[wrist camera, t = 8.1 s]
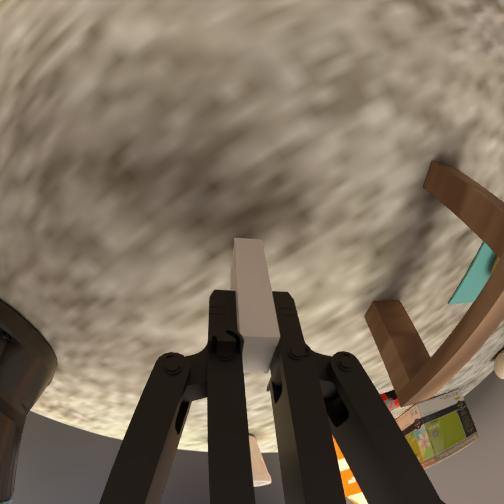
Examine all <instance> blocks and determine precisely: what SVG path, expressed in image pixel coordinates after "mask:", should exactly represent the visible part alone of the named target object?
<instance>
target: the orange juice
mask: <svg viewBox="0 0 504 504" xmlns="http://www.w3.org/2000/svg"><path fill="white" fill-rule="evenodd" d="M333 439H334V437H333ZM334 444H335V448H336V453H337V457H338V463H339V468H340V472H341V476H342V481H343V486H344V491H345V496H346V497H347V498H349V499H350V500H351V501H353V502H354V503H356V504H368V503H367V501H366V499H365V497H364V495H363V493H362V491H361V489H360V488H359V486H358V484H357V482H356V480H355V478H354V476H353V474H352V472H351V470H350V468H349V466H348V464H347V462H346V460H345V458H344V457H343V455H342V453H341V451H340V449H339V447H338V445H337V443H336V441H335V439H334Z"/></svg>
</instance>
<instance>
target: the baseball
mask: <svg viewBox="0 0 504 504" xmlns="http://www.w3.org/2000/svg"><path fill="white" fill-rule="evenodd" d="M494 370H495V373H496V375H497V376H498V377H499V378H501V379H504V349H503V350H502V351H501V352H500V353H499V354H498V355H497V357H496V359H495V362H494Z"/></svg>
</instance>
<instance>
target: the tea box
mask: <svg viewBox="0 0 504 504" xmlns="http://www.w3.org/2000/svg"><path fill="white" fill-rule="evenodd" d="M395 421H396V422H397V424H398V426H399V427H400V429H401V431H402V433H403V434H404V436H405V438H406V439H407V441H408V443H409V444H410V446H411V448H412V450H413V451H414V453H415V455H416V457H417V458H418V460H419V462H420V464H421V465H422V467H423V469H426V468H428V467H431V466H433V465H435V464H437V463H439V462H441V461H443V460H445V459H446V458H448V457H450V456H452V455H454V454H455V453H457V452H459V451H460V450H462V449H463V448H465V447H467V446H468V445H470V444H471V443H473V442H474V441H476V440H477V439H478V438H479V436H478V433H477V430H476V428H475V425H474V422H473V420H472V417H471V415H470V413H469V410H468V408H467V405H466V403H465V401H464V398H463V396H462V394H461V392H460V389H457V390H454V391H452V392H449V393H447V394H444V395H441V396H438V397H436V398H433V399H430V400H427V401H424V402H420V403H417V404H415V405H414V406H413V407H411V408H410V409H409V410H407V411H406V412H405V413H404V414H402V415H401V416H400V417H398V418H397V419H396V420H395Z"/></svg>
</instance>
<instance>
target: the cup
mask: <svg viewBox="0 0 504 504" xmlns="http://www.w3.org/2000/svg"><path fill="white" fill-rule="evenodd" d="M249 443H250V453H251V464H252V474H253V484H254V487H255V486H262V485H267V484H270V483H271V477H270V475H269V474H268V471H267V468H266V466H265V463H264V460H263V458H262V455H261V452H260V450H259V447H258V444H257V441H256V439H255V437H254V436H253V435H251V434H249Z"/></svg>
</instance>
